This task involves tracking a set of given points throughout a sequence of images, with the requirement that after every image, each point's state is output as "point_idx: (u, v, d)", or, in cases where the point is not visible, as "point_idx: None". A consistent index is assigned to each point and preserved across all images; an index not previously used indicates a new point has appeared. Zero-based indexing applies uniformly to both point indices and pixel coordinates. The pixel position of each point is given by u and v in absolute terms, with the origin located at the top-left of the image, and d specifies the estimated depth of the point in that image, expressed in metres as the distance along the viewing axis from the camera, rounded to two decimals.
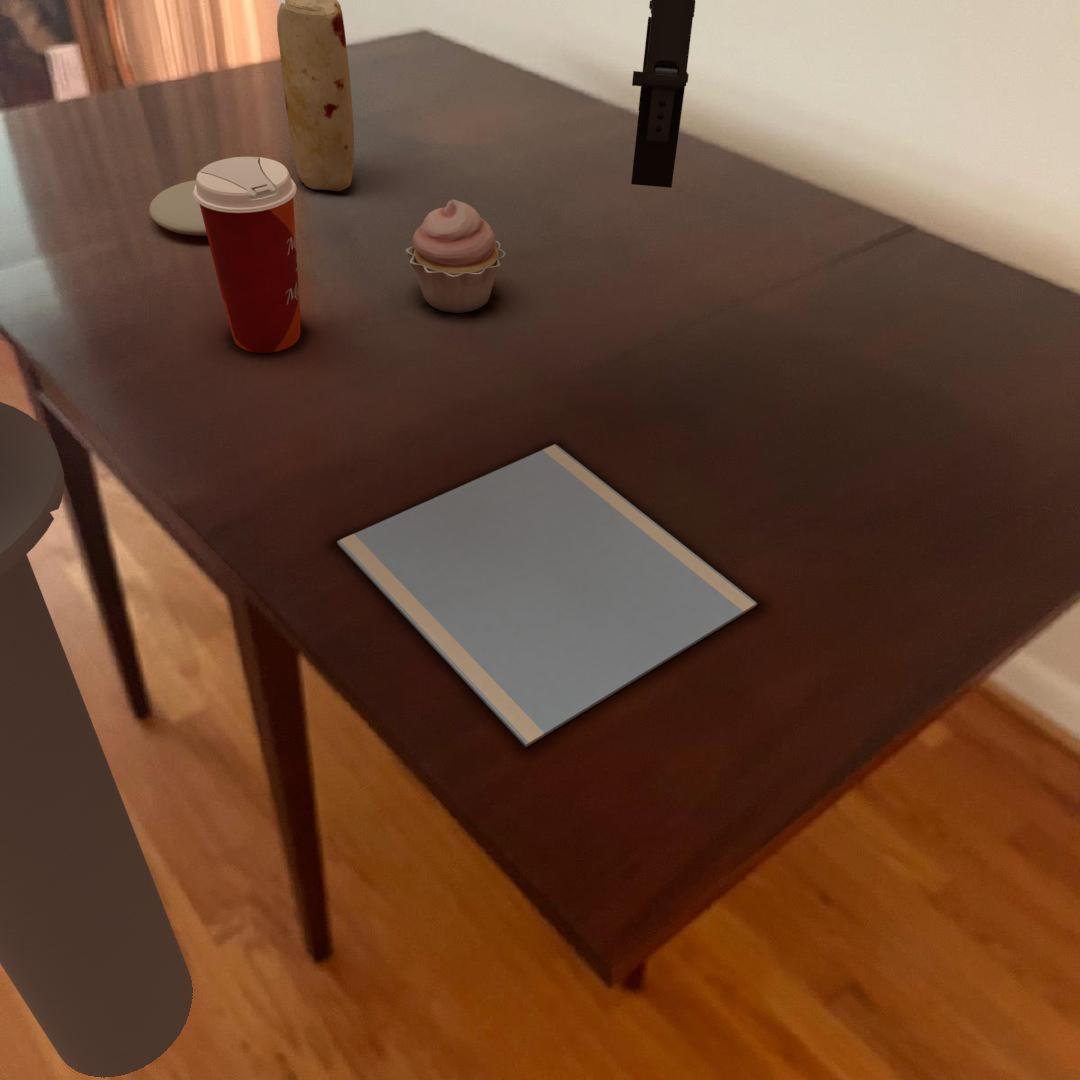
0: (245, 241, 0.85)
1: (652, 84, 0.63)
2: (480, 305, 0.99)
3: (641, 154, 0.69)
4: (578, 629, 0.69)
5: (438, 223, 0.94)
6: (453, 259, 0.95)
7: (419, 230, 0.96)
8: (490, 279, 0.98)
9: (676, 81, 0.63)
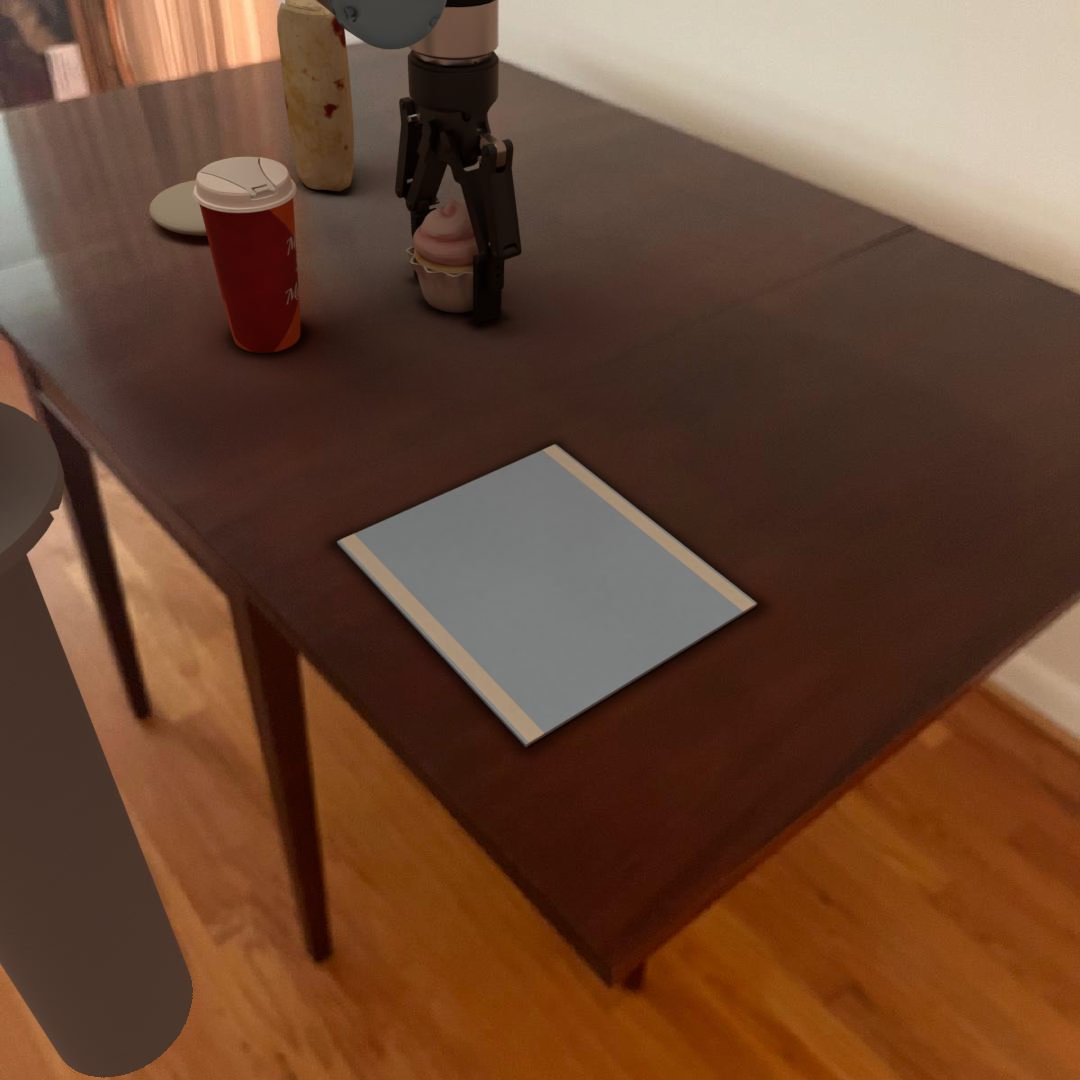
0: (245, 241, 0.85)
1: (502, 260, 0.91)
2: None
3: (482, 302, 0.96)
4: (578, 629, 0.69)
5: (438, 223, 0.94)
6: (453, 259, 0.95)
7: (419, 230, 0.96)
8: None
9: (516, 253, 0.91)
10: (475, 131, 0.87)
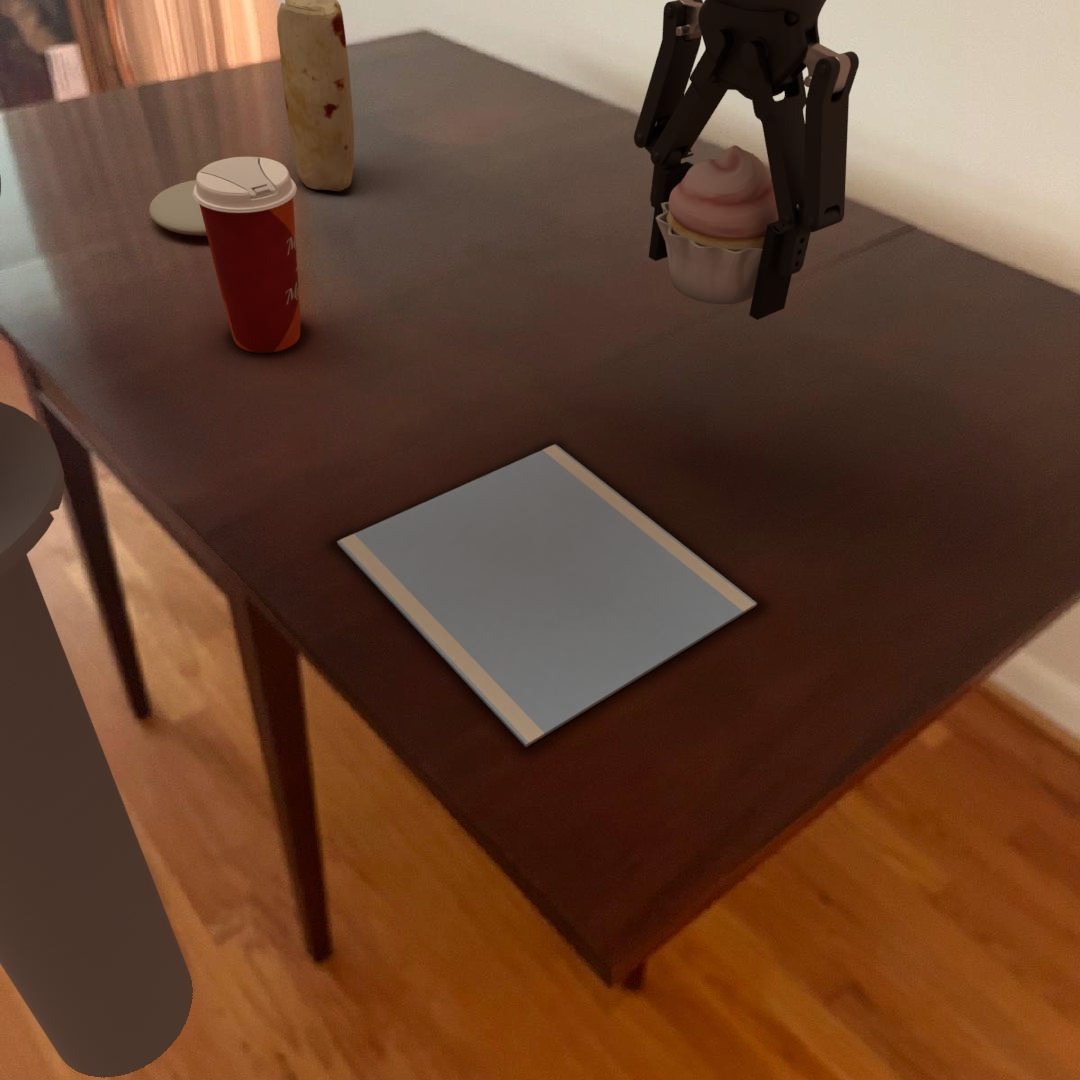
0: (245, 241, 0.85)
1: (820, 229, 0.64)
2: None
3: (767, 290, 0.69)
4: (578, 629, 0.69)
5: (714, 179, 0.68)
6: (735, 229, 0.68)
7: (680, 190, 0.69)
8: None
9: (837, 219, 0.65)
10: (803, 40, 0.60)
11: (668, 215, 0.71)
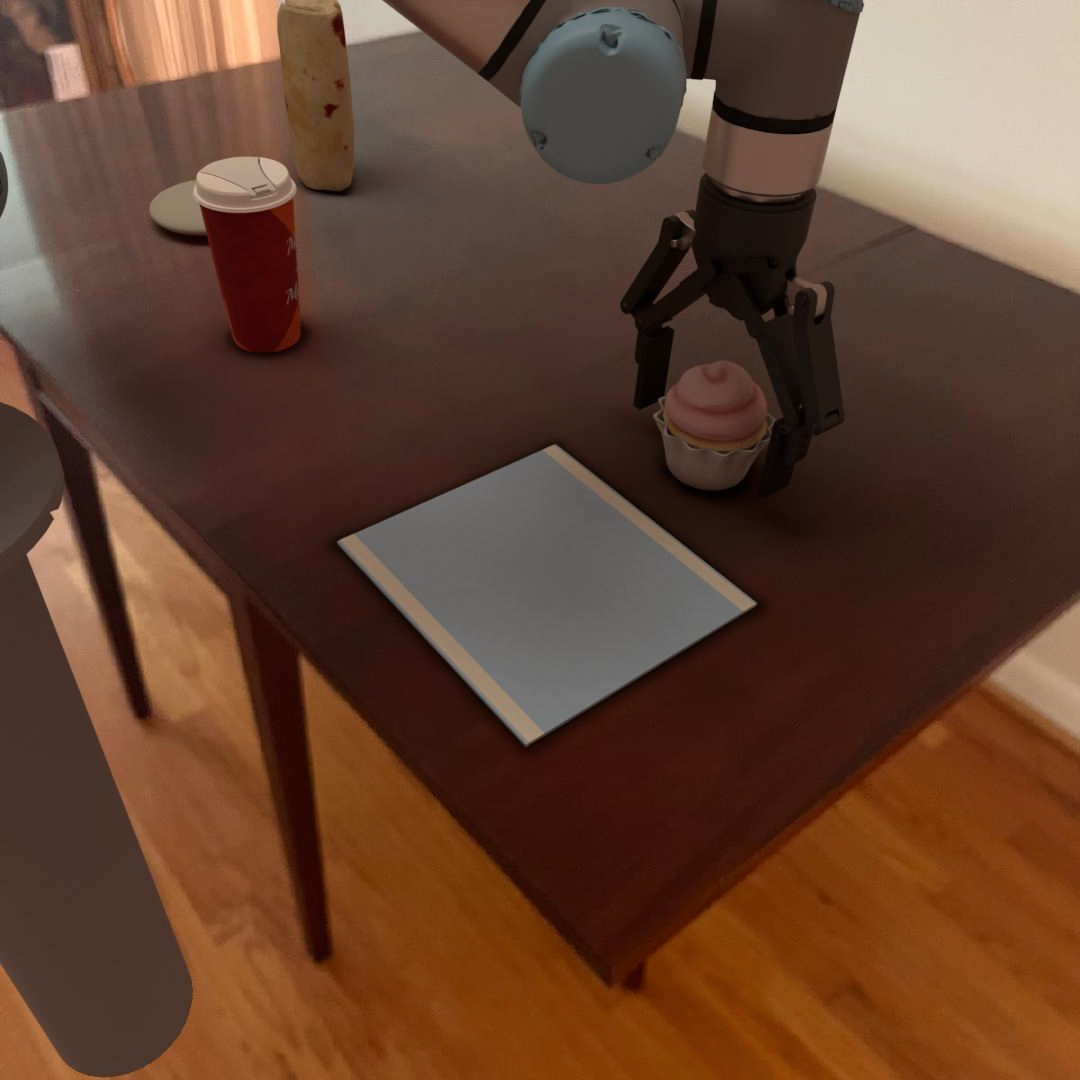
0: (245, 241, 0.85)
1: (822, 432, 0.71)
2: (740, 480, 0.81)
3: (774, 474, 0.76)
4: (578, 629, 0.69)
5: (705, 390, 0.76)
6: (723, 434, 0.76)
7: (675, 395, 0.78)
8: (758, 452, 0.80)
9: (838, 423, 0.71)
10: (782, 277, 0.68)
11: (664, 413, 0.80)
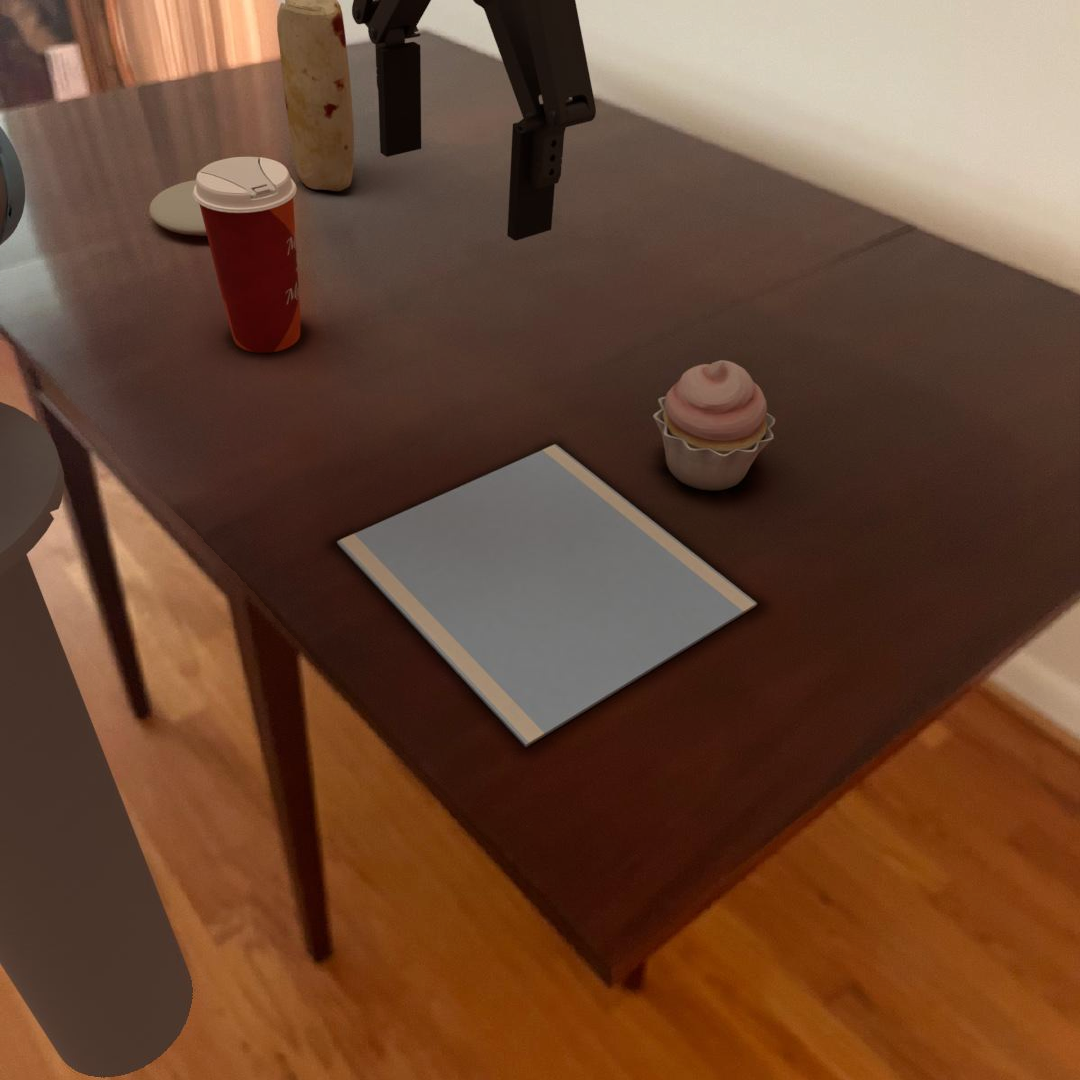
0: (245, 241, 0.85)
1: (565, 126, 0.54)
2: (740, 480, 0.81)
3: (523, 204, 0.59)
4: (578, 629, 0.69)
5: (704, 390, 0.76)
6: (723, 434, 0.76)
7: (675, 395, 0.78)
8: (758, 452, 0.80)
9: (588, 115, 0.55)
10: None
11: (664, 413, 0.80)
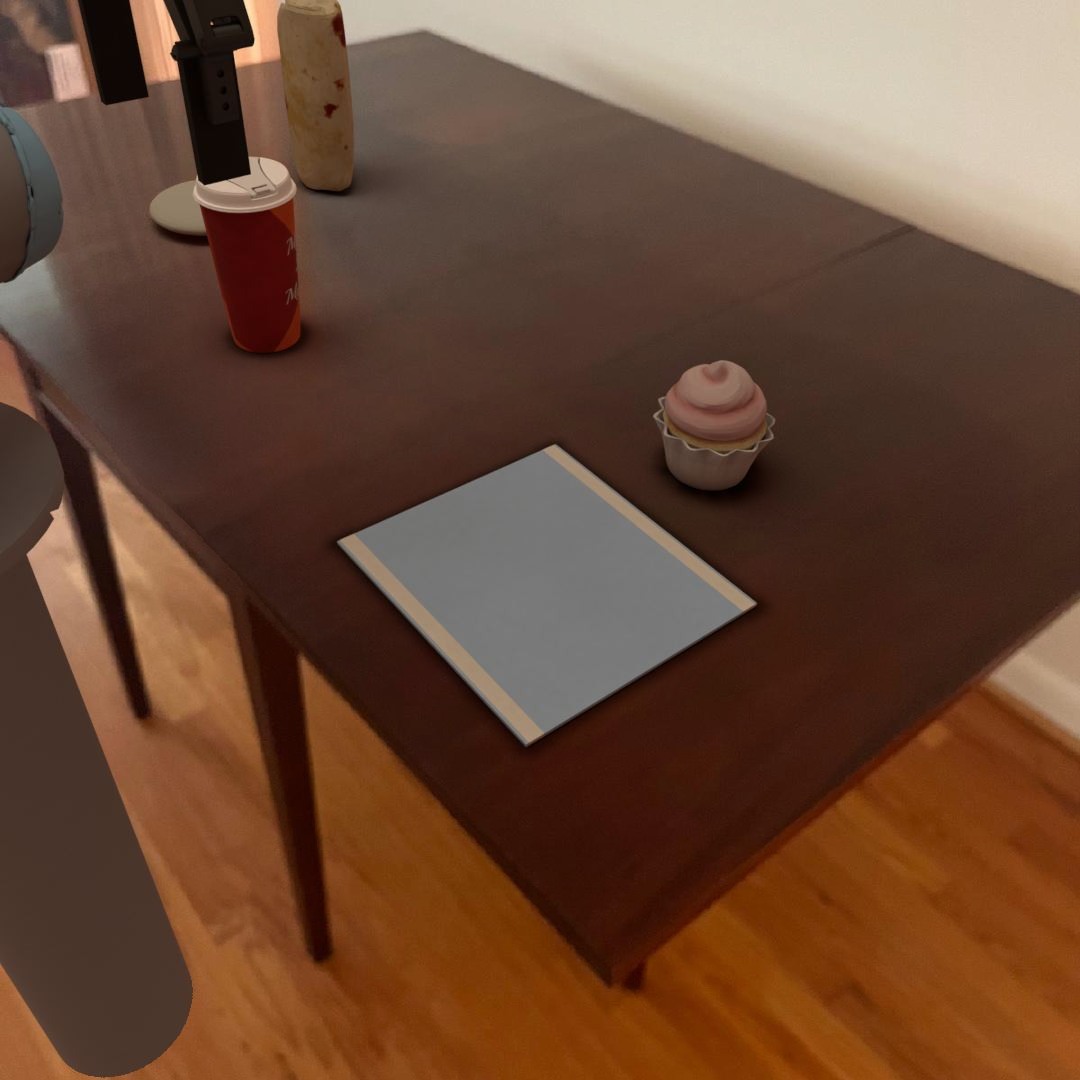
0: (245, 241, 0.85)
1: (216, 50, 0.49)
2: (740, 480, 0.81)
3: (206, 144, 0.54)
4: (578, 629, 0.69)
5: (704, 390, 0.76)
6: (723, 434, 0.76)
7: (675, 395, 0.78)
8: (758, 452, 0.80)
9: (243, 39, 0.50)
10: None
11: (664, 413, 0.80)
